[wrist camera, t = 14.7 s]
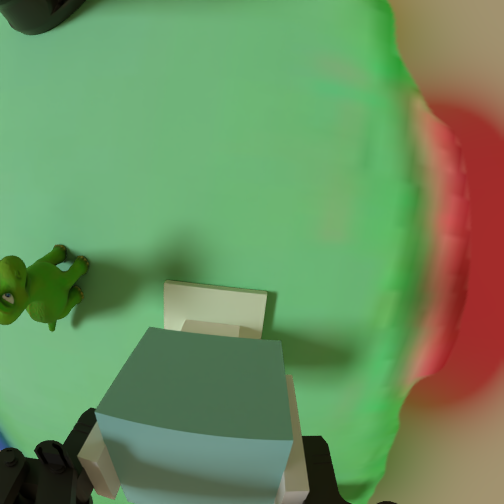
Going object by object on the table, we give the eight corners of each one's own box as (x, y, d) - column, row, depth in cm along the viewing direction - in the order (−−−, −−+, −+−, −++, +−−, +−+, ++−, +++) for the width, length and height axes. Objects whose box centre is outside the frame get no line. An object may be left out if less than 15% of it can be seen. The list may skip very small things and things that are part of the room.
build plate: (166, 279, 33) (146, 306, 26) (266, 291, 33) (269, 321, 27) (168, 379, 37) (154, 415, 30) (252, 389, 37) (252, 428, 30)
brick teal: (149, 326, 13) (94, 411, 8) (281, 340, 13) (293, 440, 8) (158, 418, 15) (128, 501, 9) (266, 430, 15) (268, 521, 9)
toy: (98, 239, 32) (14, 286, 18) (77, 333, 35) (16, 401, 21) (59, 219, 31) (-30, 253, 17) (43, 313, 35) (-23, 369, 20)
